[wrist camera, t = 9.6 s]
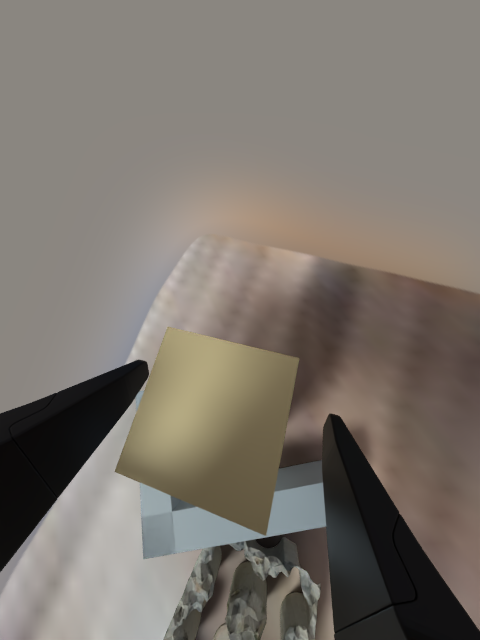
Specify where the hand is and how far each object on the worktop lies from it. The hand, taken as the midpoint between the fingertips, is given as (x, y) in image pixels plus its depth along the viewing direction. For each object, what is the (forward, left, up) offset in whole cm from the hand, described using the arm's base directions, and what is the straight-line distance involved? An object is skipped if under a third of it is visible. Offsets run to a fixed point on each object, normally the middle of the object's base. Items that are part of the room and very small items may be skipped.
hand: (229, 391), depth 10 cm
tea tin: (-1, 0, -8) cm, 8 cm away
